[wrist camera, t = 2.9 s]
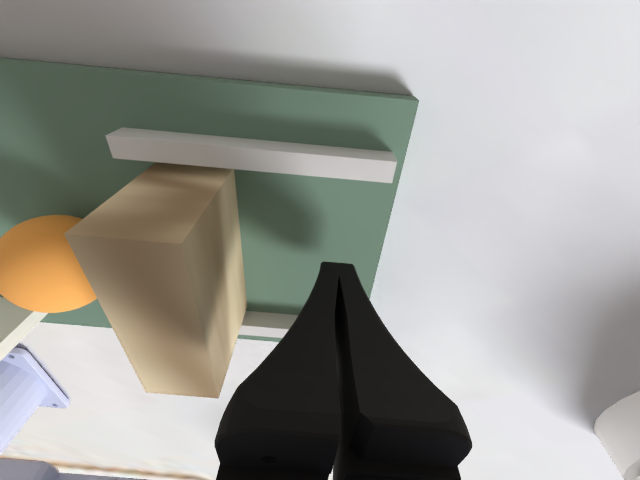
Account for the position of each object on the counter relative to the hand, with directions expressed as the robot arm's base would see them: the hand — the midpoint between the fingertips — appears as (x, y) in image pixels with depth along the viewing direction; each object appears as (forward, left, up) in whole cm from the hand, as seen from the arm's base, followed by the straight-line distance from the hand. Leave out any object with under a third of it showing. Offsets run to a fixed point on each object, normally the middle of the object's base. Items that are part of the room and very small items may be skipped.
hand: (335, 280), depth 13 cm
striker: (-6, 0, -2) cm, 6 cm away
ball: (-11, 0, 0) cm, 11 cm away
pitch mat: (-10, 0, -2) cm, 11 cm away
